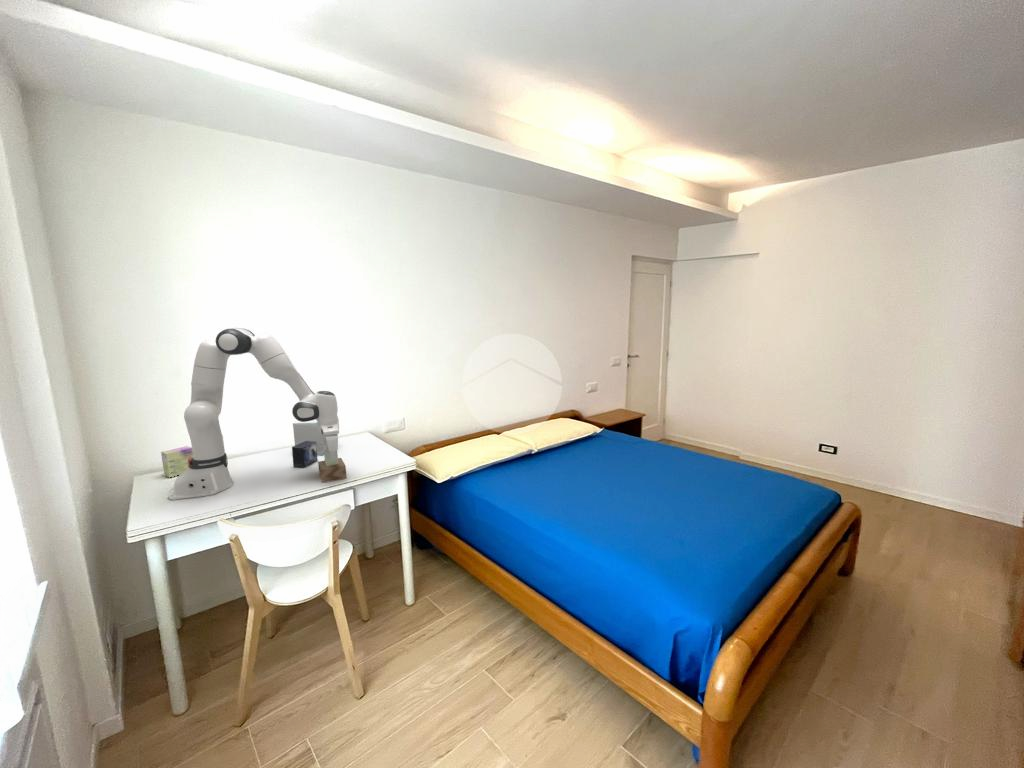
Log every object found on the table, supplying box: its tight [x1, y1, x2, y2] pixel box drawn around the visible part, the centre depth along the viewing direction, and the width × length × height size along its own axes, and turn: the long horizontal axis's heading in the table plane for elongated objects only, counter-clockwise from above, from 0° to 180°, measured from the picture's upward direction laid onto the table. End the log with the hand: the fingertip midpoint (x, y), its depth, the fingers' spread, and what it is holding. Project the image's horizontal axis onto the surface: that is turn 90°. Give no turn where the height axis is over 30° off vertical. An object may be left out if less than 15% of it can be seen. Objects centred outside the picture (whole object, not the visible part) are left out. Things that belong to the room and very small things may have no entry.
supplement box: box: [292, 419, 327, 456], centre depth 227 cm, size 17×13×18 cm
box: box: [160, 445, 193, 479], centre depth 198 cm, size 10×6×12 cm, turn 149°
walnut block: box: [317, 457, 347, 483], centre depth 194 cm, size 10×12×6 cm
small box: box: [291, 441, 319, 469], centre depth 209 cm, size 11×6×10 cm, turn 168°
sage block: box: [323, 450, 339, 466], centre depth 193 cm, size 5×5×6 cm
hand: (330, 456), depth 193 cm, fingers open, 8 cm apart
